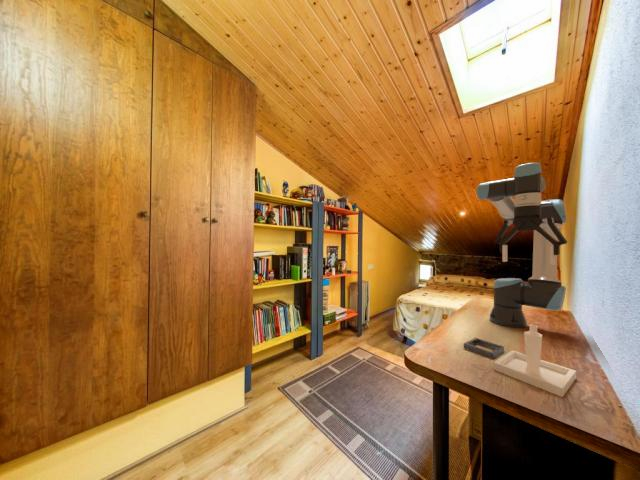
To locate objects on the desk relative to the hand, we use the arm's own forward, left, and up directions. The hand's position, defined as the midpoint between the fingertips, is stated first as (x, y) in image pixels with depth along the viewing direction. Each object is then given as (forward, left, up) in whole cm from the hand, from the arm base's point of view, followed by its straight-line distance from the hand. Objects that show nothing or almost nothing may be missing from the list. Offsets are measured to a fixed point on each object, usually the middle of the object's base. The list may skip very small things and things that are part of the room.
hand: (527, 263), depth 85 cm
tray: (+13, +5, -35) cm, 37 cm away
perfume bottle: (+13, +5, -34) cm, 37 cm away
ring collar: (+8, -11, -35) cm, 37 cm away
